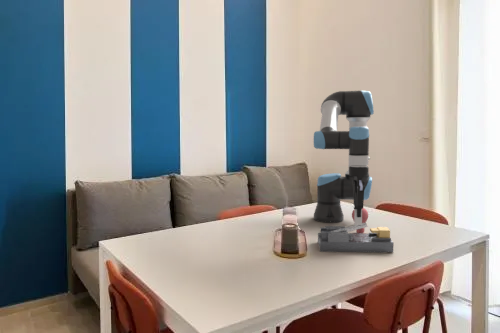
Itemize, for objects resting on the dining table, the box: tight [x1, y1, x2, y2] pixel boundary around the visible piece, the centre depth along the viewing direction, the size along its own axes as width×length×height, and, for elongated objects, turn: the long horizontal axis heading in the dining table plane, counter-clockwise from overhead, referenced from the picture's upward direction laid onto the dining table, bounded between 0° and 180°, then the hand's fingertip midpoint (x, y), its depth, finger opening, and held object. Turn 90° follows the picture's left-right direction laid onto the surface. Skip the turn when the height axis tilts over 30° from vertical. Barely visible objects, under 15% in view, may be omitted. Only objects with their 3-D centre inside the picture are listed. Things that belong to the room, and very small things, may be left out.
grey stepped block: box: [317, 225, 394, 253], centre depth 168 cm, size 28×12×7 cm, turn 85°
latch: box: [369, 226, 391, 238], centre depth 166 cm, size 7×5×4 cm
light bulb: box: [351, 207, 369, 234], centre depth 186 cm, size 7×7×12 cm
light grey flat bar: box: [330, 223, 368, 233], centre depth 168 cm, size 18×3×1 cm, turn 84°
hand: (358, 224), depth 166 cm, fingers closed
